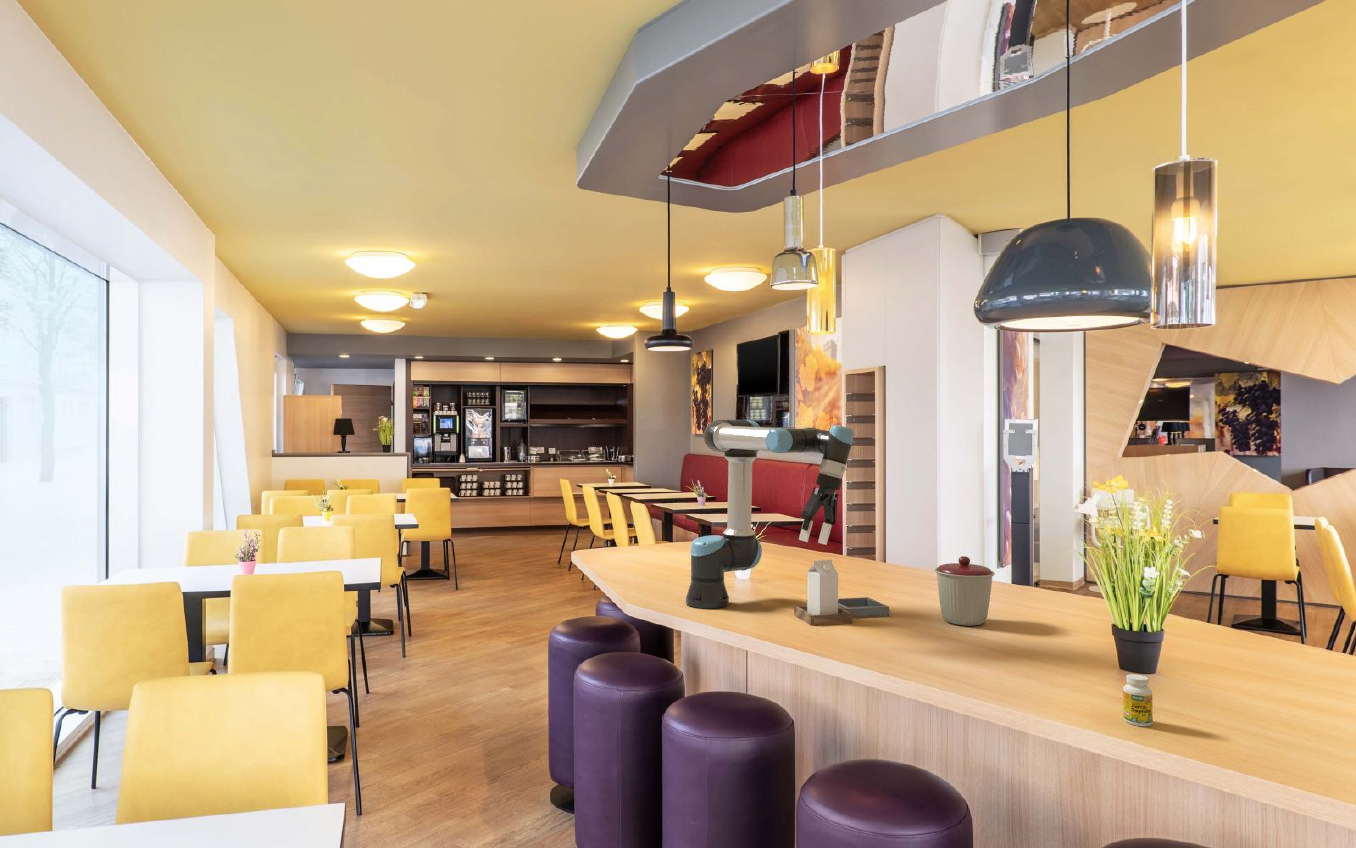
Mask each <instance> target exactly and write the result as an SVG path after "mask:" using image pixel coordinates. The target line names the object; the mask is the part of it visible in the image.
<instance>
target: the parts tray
mask: <svg viewBox="0 0 1356 848" xmlns="http://www.w3.org/2000/svg"><path fill="white" fill-rule="evenodd" d="M838 607H840V608H842V609H844V610H846V611H848V612H850V613H852V619H854V618H853V617H856V618H870V617H872V618H873V617H887V616H888V617H890V606H889V605H886V604H885V603H882V602H880V601H877V600H875V599H873V598H871V597H868V596H865V597H864V596H863V597H845V598H843V597H842V598H841V597H840V598H838Z"/></svg>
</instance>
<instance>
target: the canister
mask: <svg viewBox="0 0 1356 848" xmlns="http://www.w3.org/2000/svg"><path fill="white" fill-rule="evenodd" d="M957 561H958V562H957V563H956V562H955V563H951V562H950V563H944V564H941V565H939V566H938V567H935V568H934V572H935V573H936V580H937V589H938V599H939V605H940V612H941V616H942V618H943V619H944V621H945V622H947V623H950V624H953V625H956V624H957V626H963V627H964V626H966V627H967V626H968V627H972V626H973V627H975V626H981V625H984V624H985V623H986V620H987V618H988V615H989V609H990V601H991V592H992V585H993V584H992V583H993V577H994V576H995V571H993V570H992V569H990V568H989V567H987V566H984V565H980V564H973V563H971V559H970V557H968V556H966V555H965V556H960V557H958V560H957Z"/></svg>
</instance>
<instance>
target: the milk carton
mask: <svg viewBox="0 0 1356 848" xmlns="http://www.w3.org/2000/svg"><path fill="white" fill-rule="evenodd" d="M812 563H813V565H812V566H811V567H810V568H809V569H808V571H807V575H806V576H807V577H806V578H807V582H806V583H807V586H806V587H807V588H806V589H807V590H806V591H807V595H806V596H807V601H806V602H807V603H806V605H807V612H808V613H810V614H812V615H821V614H838V599H839V573H838V571H837V569H836V568H835V565H834V564H833V559H822V560H813V561H812Z"/></svg>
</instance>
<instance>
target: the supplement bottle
mask: <svg viewBox="0 0 1356 848" xmlns="http://www.w3.org/2000/svg"><path fill="white" fill-rule="evenodd" d="M1125 682H1126V683H1127V684H1125V685H1124V686H1123V687H1122V696H1123V700H1122V701H1123V702H1122V703H1123V704H1122V705H1123V706H1122V707H1123V710H1122V711H1123V714H1122V715H1123V720H1124V722H1125V723H1127V724H1128V725H1132V726H1135V727H1136V726H1137V727H1142V728H1143V727H1150V726H1152V725H1153V721H1154V719H1153V718H1154V717H1153V691H1152V689H1151V688H1150V687H1148V686H1149V677H1147V676H1145V675H1141V674H1136V673H1135V674H1131V673H1130V674H1127V675H1126V681H1125Z"/></svg>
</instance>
